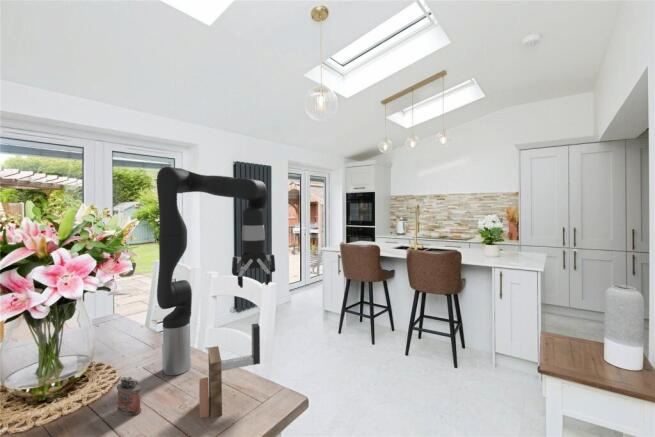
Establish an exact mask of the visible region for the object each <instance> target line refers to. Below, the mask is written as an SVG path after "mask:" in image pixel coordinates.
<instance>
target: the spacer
mask: <svg viewBox="0 0 655 437" xmlns="http://www.w3.org/2000/svg"><path fill="white" fill-rule="evenodd" d="M198 380H199V383H198V384H199V386H198V391H199V392H198V396H199V397H198V400H199V419H201V418H205V417H208V416H210V400H209V376H207V377H203V378H199V379H198Z"/></svg>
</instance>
